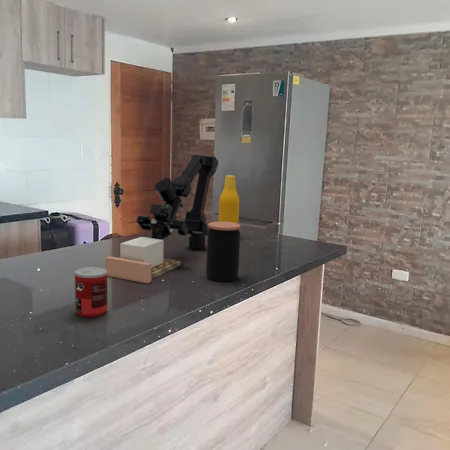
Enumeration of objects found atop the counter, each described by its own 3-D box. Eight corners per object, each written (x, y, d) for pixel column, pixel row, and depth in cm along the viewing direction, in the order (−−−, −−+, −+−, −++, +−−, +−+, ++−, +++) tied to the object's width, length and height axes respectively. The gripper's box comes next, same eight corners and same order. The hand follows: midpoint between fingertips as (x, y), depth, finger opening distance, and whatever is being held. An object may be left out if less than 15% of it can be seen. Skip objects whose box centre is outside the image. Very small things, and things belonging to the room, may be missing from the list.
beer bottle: (219, 236, 219) (221, 174, 213) (238, 237, 217) (241, 175, 212) (216, 240, 210) (218, 176, 204) (236, 241, 208) (239, 177, 203)
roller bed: (148, 260, 172) (148, 253, 171) (180, 265, 166) (180, 258, 166) (113, 274, 153) (113, 267, 152) (148, 280, 147) (148, 273, 147)
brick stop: (109, 273, 153) (109, 256, 152) (151, 281, 147) (151, 263, 146) (105, 275, 151) (105, 257, 150) (147, 283, 145) (147, 264, 144)
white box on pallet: (141, 259, 163) (141, 236, 161) (163, 262, 159) (163, 240, 158) (120, 267, 152) (120, 243, 150) (143, 271, 148) (143, 247, 147)
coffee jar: (242, 275, 158) (244, 223, 154) (232, 284, 148) (234, 228, 144) (212, 271, 161) (214, 220, 158) (201, 279, 151) (203, 225, 148)
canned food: (79, 306, 124) (78, 266, 121) (109, 306, 124) (109, 267, 122) (72, 317, 116) (71, 275, 114) (104, 317, 117) (104, 275, 115)
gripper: (139, 193, 166) (120, 228, 158) (185, 197, 158) (168, 234, 150) (150, 212, 174) (133, 246, 166) (195, 217, 167) (179, 253, 159)
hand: (152, 244), depth 160 cm, fingers closed, pressing on white box on pallet
